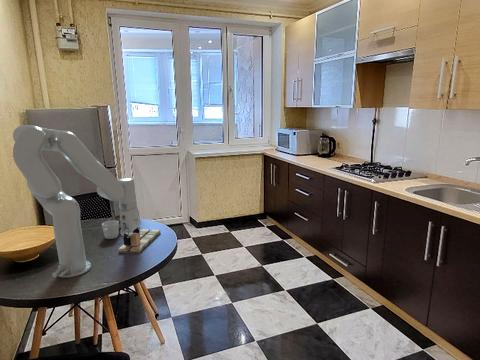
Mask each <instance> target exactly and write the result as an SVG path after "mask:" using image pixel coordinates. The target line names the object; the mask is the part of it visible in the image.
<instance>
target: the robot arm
mask: <svg viewBox="0 0 480 360" xmlns="http://www.w3.org/2000/svg"><path fill="white" fill-rule="evenodd" d="M12 138H13V141H14V144H13V147H12V148H13V149H12V158H13V161H14V164H15V165H16V167H17V168H18V170H19V171H20V173H21V174H22V175H23V177H24V179H25V180H26V184H27V188H28V189H29V191H30V193H31V194H32V195H33V197H34V199H36V200H37V202H38V203H39V205H41V207H42V208H44V210H45V211H46V212H47V213H48V214H49V215H51V216H52V223H53V226H52V227H53V233H54V238H55V239H54V240H55V244H56V250H57V256H58V262H59V264H58V265H57V266H58V267H57V270H56V271H53V273H51V275H52V278H58V277H59V278H63V279H64V278H66V279H67V278H75V277H79V276H80V275H83V274H85V273H87V272H88V271H89V270H90V269H91V268H92V263H91V262H90V261H89V260H87V257H86V252H85V251H86V250H85V244H84V238H83V236H84V235H83V231H82V226H81V225H82V224H81V207H80V204H79V203H78V201H77V200H76V199H75V198H74V197H72V196H70V195H68V194H66V193H65V192H64V190H63V189H62V182H61V180H60V179H59V177H58V176H57V175H56V173H55V172H54V171H53V170H52V168H51V167H50V165H48V163H47V161H46V160H45V158H44V156H43V153H42V152H43V151H52V152H59V153H60V154H61V156H63V158H65V160H66V161H67V162H68V163H69V164H70V165H71V166H72V167H73V168H74V169H75V171H76V172H77V173H78V174H80V175H82V176H83V177H84V178H85V179H88V180H89V181H91V182H92V183H93V184H95V186H96V193H97V194H98V196H100V197H102V198H104V199H106V200H108V201H110V200H111V201H118V200H119V207H120V210H121V211H120V222H121V228H120V231H119V234H120V235H121V237H122V239H123V244H124V245H125V246H131V238H130V237H129V236H130V233H139V235H140V230H141V228H140V227H141V225H142V224H141V217H140V211H139V208H138V207H139V206H138V202H137V195H136V194H137V192H136V185H135V179H133V178H132V177H131V178H130V177H124V178H120V179H117V178H116V176H115V175H113V173H112V172H111V171H110V170H108V169H107V167H105V166H104V165H103V164H102V163H101V162H100V161H99V160H98V159H97V158H96V157H95V155H93V154H92V153H91V151H90V150H89V149H88V148H87V146H86V145H85V144H84V143H83V142H82V141H81V140H80V139H79V138H78V137H77V135H76V134H75V133H73V132H71V131H69V130H60V129H59V130H58V129H51V128H45V127H40V126H37V125H34V124H33V125H32V124H21V125H19V126H17V127H16V128H15V129H14V130H13V132H12ZM126 233H128V234H126Z"/></svg>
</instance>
